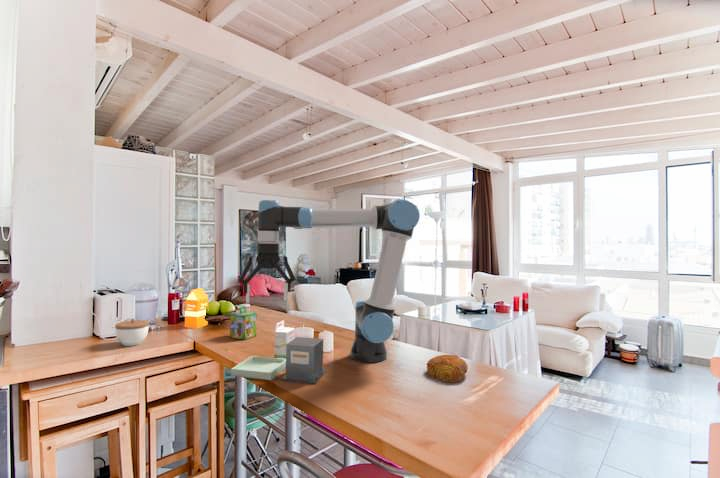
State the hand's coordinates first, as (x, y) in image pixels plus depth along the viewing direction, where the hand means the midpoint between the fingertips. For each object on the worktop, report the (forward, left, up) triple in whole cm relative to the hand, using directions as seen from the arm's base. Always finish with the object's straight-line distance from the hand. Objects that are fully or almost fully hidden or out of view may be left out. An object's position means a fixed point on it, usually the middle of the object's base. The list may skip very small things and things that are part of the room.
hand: (267, 301), depth 130 cm
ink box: (-1, -14, -25) cm, 29 cm away
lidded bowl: (+71, -15, -25) cm, 76 cm away
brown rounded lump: (-64, -13, -25) cm, 71 cm away
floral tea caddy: (+31, -39, -25) cm, 55 cm away
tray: (+2, 0, -25) cm, 25 cm away
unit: (-15, +1, -25) cm, 29 cm away
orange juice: (+66, -52, -25) cm, 87 cm away
